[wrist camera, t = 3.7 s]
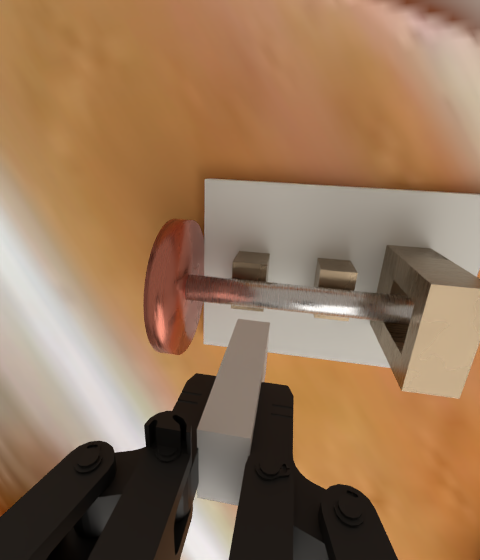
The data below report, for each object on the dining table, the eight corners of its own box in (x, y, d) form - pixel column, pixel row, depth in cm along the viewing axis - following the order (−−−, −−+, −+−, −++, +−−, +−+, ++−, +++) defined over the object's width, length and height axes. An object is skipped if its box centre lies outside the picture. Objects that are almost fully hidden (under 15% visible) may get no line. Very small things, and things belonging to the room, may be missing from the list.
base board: (207, 337, 29) (203, 344, 28) (208, 178, 24) (204, 179, 23) (438, 365, 27) (444, 374, 26) (492, 194, 22) (503, 196, 21)
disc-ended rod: (181, 313, 28) (133, 379, 20) (179, 208, 25) (120, 233, 17) (423, 341, 26) (487, 431, 17) (455, 228, 22) (554, 269, 14)
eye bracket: (236, 308, 27) (214, 365, 19) (240, 233, 24) (216, 264, 17) (409, 328, 25) (459, 398, 17) (431, 248, 23) (498, 290, 15)
